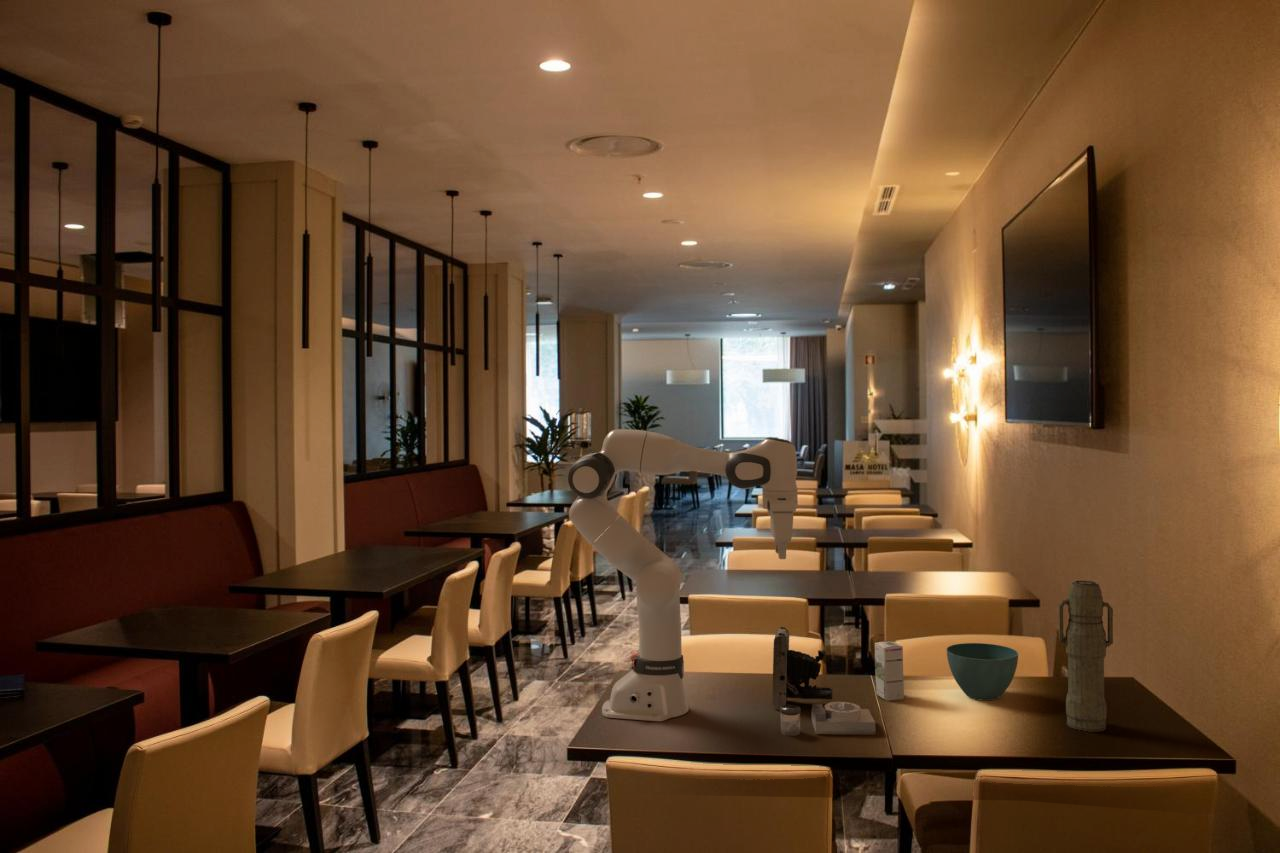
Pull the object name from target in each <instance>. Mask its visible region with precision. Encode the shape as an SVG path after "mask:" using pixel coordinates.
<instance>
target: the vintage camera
mask: <svg viewBox="0 0 1280 853" xmlns="http://www.w3.org/2000/svg"><path fill="white" fill-rule="evenodd" d="M772 650H773V651H772V652H773V654H772V656H773V658H772V691H771V692H772V700H771V701H772V702H771V703H772V706H773V708H774V709H775V710H778V711H780V706H782V705H787V699H800V700H833V689H832V688H831V687H829V686H827V687H826V686H825V687H824V686H823V687H821V686H817V685H816V684H815V685H813V686H812V685H811V684H810V679H812V680H814V681H816V680H817V678H818V677H819V675H820V672H821V666H822V663H820V661H824V659H825V652H824V651H823V650H820V649H819V650H817V654H818V655H816V656H815V657H814V656H812V655H810V654H807V653H804V652H802V651H799V650H797V651H796V650H794V649H790V632H789V629H787V627H785V626H780V627H779V628H778V629H777V630H776V632H775V635H774V639H773V649H772ZM802 684H804V685H802ZM828 703H829V702H827V703H826V704H828Z"/></svg>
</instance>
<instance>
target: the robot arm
mask: <svg viewBox="0 0 1280 853" xmlns="http://www.w3.org/2000/svg"><path fill="white" fill-rule="evenodd" d="M601 447H602V448H601V450H599V451H596V452H590V453H587V454H584V455H581V457H579V458H578V459H577V460H576V461H575V462H573V464H572V465H571V466H570V468H569V470H568V474H567V483H568V486H569V488H570V489H571V491H572V492H573V494H575V495H576V496H577V497H576V499H575V500H574V501H573V502H572V505H571V506H570V508H569V511H568V518H569V520H570V522H571V523H572V525H573V526H574V527H575V529H576V530H577V531H578V533H580V535H581V536H582V537H583V539H584V540H585V541H586V542H587V543H588V544H589V545H590V546H591V547H592V548H593V549H594V550H596V552H597V553H598V554H600V556H602V557H603V558H604V559H605V560H606V562H608V564H610V565H611V566H612V567H613V568H615V569H617V570H618V571H620V572H621V573H623V574H624V575H625V576H627V577H628V578H629V579H630V580H631V581H632V582H634V583H635V586H636V587H635V588H636V589H635V590H636V594H635V595H636V608H637V619H638V620H637V621H638V644H639V645H638V649H639V650H638V652H639V654H638V653H635V652H634V653H632V655H631V657H630V660H631V670H630V671H628V672H627V673H626V674H625V675H624V676H622V677H621V678H620V679H618V680H617V681H616V682H615V683H614V685H613V686H612V689H611V693H610V699H607V700H606V701H605V702H603V704H602V707H601V714H602V715H603V716H604V718H605V717H606V718H609V719H611V718H612V719H623V720H635V721H637V720H638V721H650V722H663V721H666V720H668V719H671V718H677V717H680V716H683V715H685V714H686V713H688V712H689V706H688V702H687V697H686V693H685V687H684V675H685V661H684V655H683V654H682V653H683V652H682V621H681V620H682V619H681V599H680V598H681V595H680V592H681V585H682V578H683V577H682V572H681V569H680V566H679V565H678V564H677V563H676V562H675V561H673V559H671V558H670V557H669V556H668V555H667V554H666V553H664V552H663V551H662V550H661V549H660V548H658V546H656V545H655V544H654V543H652V542H651V541H649V539H647V538H646V537H644V536H643V535H642V534H641V533H640V532H639V531H638V530H637V529H636V528H635V527H634V526H633V525H632V524H630V522H628V520H626V518H625V517H624V516H622V514H620V513H619V512H618V511H617V510H616V509H615V508H614V507H613V506H612V505H611V504H610V503H609V501H608V496H609V494H610V492H611V490H612V488H613V487H614V484H615V483H616V479H617V477H618V473H620V472H632V473H638V474H643V475H650V476H651V475H653V476H669V475H673V474H676V473H682V472H699V473H706V474H711V475H717V476H722V477H724V478H727V480H728V482H729V483H730V484H731V485H732V486H733V487H736V488H737V489H741V490H748V489H752V488H754V487H755V488H756V487H759V486H760V487H761V488H762V495H761V496H762V509H763V510H767V516H770V517H769V518H770V519H769V520H770V522H769V523H770V524H769V525H770V528H769V529H770V533H771V534H772V536H773V540H774V545H775V546H774V547H775V549H774V550H775V553H776V554H778V559H779V560H785V559H787V549H788V543H791V541H792V537H793V528H794V527H793V526H794V512H795V513H796V510H797V509H798V506H799V504H798V503H799V502H798V494H799V493H798V486H797V481H796V480H797V476H798V457H797V450H796V446H795V445H794V444H793V443H792V441H790V440H788V439H783V438H778V437H773V436H772V437H765V438H764V439H763V440H761V441H760V442H758V443H757V444H755V445H753V446H751V447H749V448H741V449H738V450H734V451H722V450H721V451H720V450H714V449H708V448H702V447H697V446H693V445H690V444H687V443H685V442H683V441H681V440H678V439H677V438H676V439H675V438H674V437H671V436H668V435H665V434H662V433H658V432H655V431H648V430H643V429H642V430H641V429H632V428H631V429H629V428H627V429H626V428H625V429H624V428H623V429H622V428H621V429H619V428H617V429H613V430H611V431H609V432H608V433H607V435H606V436H605V437H604V440H603V443H602V446H601Z"/></svg>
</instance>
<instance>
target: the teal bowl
mask: <svg viewBox="0 0 1280 853" xmlns="http://www.w3.org/2000/svg"><path fill="white" fill-rule="evenodd" d="M946 657H947V662H948V666H949V669H950V672H951V674H952V676H953V679H954V680H955V682H956V683H957V685H958V687H960V690H962V692H963V693H964V694H965V695H966V696H967V697H968V696H969V697H968V698H970V697H971V698H970V699H973V698H975V699H974V700H978V699H982V700H981V701H995V700H998V699H999V698H1000V697H1001V696H1002V695H1003V694H1004V693H1005V692H1006V691H1007V689H1008V688H1009V687H1010V685H1011V683H1012V681H1013V679H1014V676H1015V674H1016V671H1017V668H1018V667H1017V666H1018V661H1019V652H1018V651H1017V650H1016V649H1014V648H1011V647H1008V646H1005V645H999V644H993V643H986V642H985V643H983V642H982V643H980V642H965V643H956V644H951V645H949V646H948V647H946ZM994 699H995V700H994Z"/></svg>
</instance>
